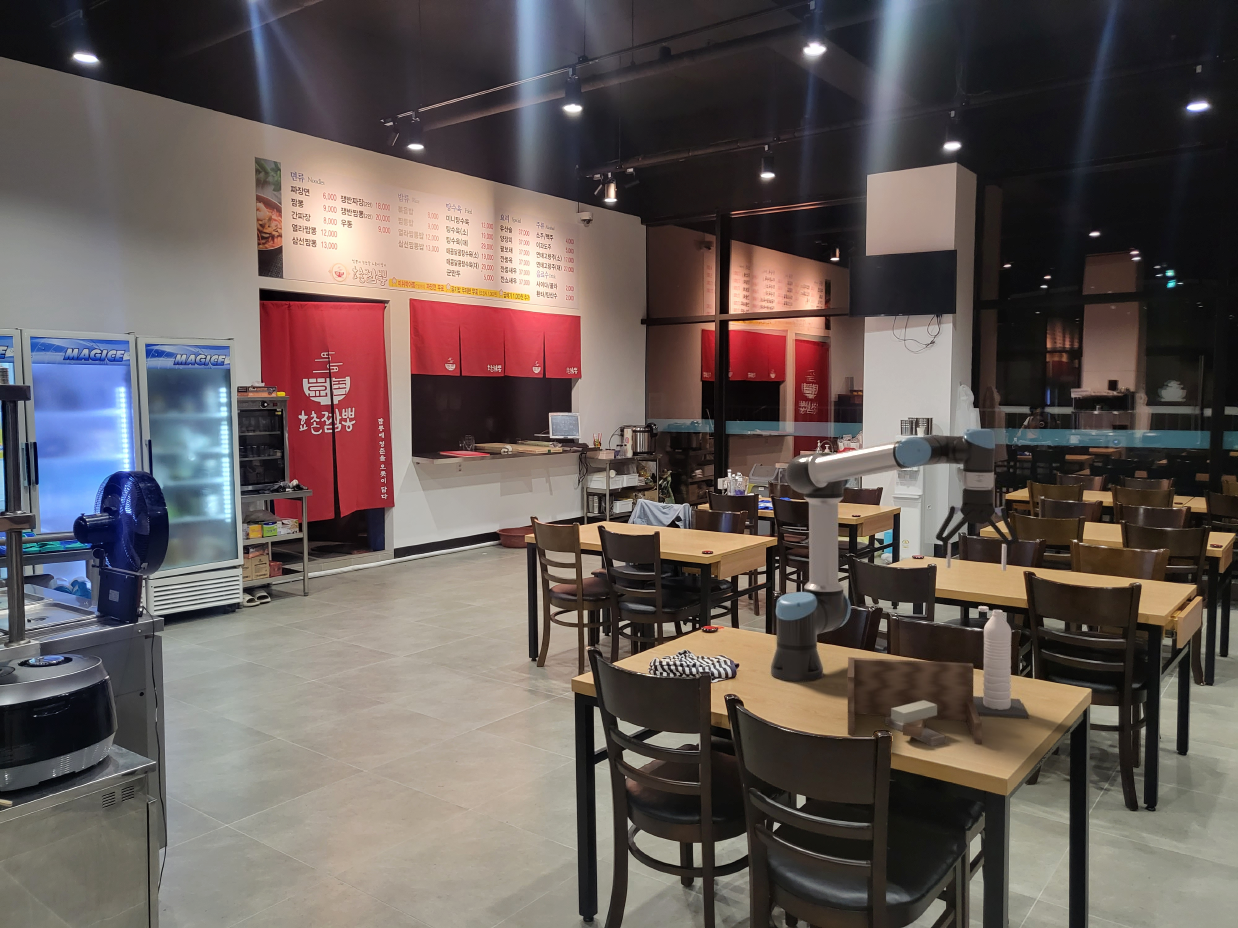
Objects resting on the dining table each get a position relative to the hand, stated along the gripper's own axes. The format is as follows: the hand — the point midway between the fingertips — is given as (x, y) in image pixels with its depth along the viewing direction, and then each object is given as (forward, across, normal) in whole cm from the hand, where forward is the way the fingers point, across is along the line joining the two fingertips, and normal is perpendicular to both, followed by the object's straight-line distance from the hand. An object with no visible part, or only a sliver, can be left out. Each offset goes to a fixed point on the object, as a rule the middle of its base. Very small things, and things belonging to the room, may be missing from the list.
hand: (975, 568), depth 236 cm
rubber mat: (+35, +5, -6) cm, 36 cm away
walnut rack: (+35, -16, -24) cm, 46 cm away
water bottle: (+35, +4, -6) cm, 35 cm away
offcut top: (+31, -16, -29) cm, 46 cm away
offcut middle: (+34, -16, -29) cm, 47 cm away
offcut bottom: (+36, -16, -29) cm, 49 cm away
